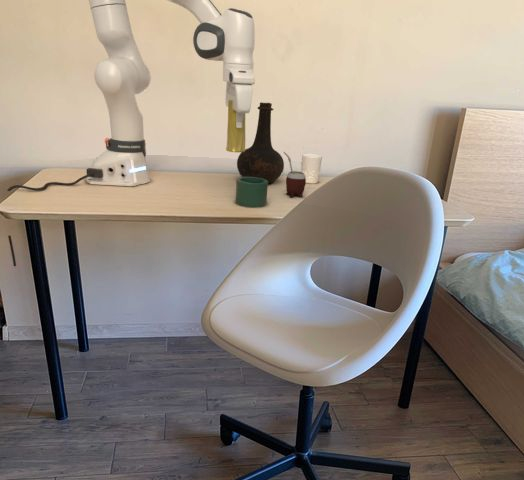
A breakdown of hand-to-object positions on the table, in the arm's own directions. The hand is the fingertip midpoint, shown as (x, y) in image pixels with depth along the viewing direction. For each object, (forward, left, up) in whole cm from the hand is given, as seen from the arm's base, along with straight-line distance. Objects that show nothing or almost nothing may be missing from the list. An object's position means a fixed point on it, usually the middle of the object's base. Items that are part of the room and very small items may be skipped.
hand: (236, 126), depth 156 cm
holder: (+6, 0, -24) cm, 24 cm away
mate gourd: (+24, +10, -24) cm, 35 cm away
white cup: (+38, +33, -24) cm, 55 cm away
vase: (0, 0, -7) cm, 7 cm away
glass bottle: (+17, +32, -24) cm, 43 cm away
